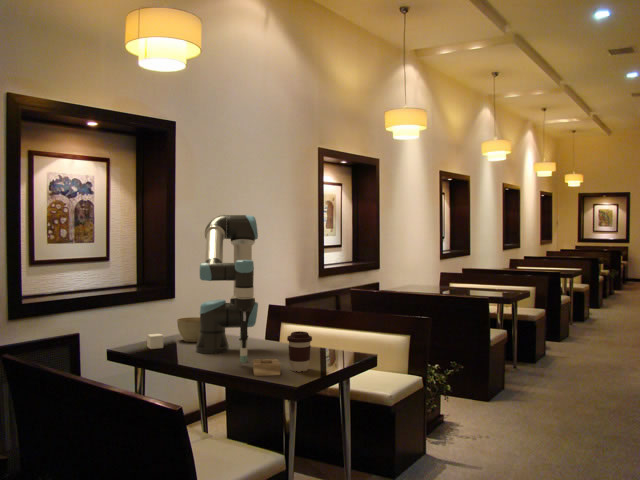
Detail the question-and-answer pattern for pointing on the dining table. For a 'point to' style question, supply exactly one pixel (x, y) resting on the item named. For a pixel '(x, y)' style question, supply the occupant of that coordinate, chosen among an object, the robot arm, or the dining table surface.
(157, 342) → the cream cube
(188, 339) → the planter bowl
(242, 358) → the peg
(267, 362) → the hole block
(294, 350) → the coffee cup
